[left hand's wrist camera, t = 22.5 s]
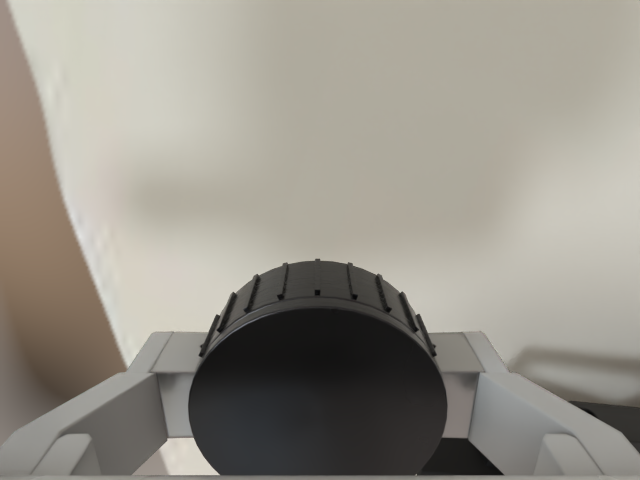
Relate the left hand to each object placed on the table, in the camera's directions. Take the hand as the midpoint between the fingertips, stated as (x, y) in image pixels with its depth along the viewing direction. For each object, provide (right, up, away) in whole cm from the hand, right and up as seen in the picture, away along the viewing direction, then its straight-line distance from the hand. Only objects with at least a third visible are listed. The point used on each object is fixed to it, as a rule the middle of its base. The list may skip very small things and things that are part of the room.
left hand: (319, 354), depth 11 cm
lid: (0, -1, -2) cm, 2 cm away
